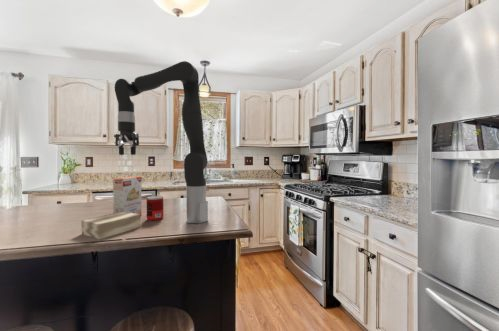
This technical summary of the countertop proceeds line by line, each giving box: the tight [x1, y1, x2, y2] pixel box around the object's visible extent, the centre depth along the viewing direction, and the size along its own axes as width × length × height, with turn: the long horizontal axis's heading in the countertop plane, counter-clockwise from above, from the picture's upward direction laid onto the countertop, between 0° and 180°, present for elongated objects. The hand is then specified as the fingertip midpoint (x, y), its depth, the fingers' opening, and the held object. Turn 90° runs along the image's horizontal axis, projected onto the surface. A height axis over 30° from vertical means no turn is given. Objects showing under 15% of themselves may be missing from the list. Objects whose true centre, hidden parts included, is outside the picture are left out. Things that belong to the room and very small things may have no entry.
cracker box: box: [112, 175, 142, 217], centre depth 124 cm, size 14×6×21 cm, turn 168°
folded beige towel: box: [81, 212, 141, 240], centre depth 105 cm, size 12×18×6 cm, turn 152°
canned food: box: [146, 195, 164, 222], centre depth 124 cm, size 8×8×11 cm
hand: (127, 154), depth 123 cm, fingers open, 8 cm apart
